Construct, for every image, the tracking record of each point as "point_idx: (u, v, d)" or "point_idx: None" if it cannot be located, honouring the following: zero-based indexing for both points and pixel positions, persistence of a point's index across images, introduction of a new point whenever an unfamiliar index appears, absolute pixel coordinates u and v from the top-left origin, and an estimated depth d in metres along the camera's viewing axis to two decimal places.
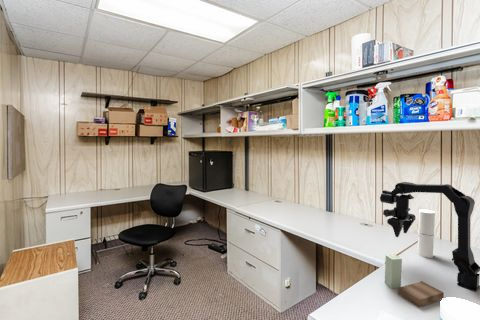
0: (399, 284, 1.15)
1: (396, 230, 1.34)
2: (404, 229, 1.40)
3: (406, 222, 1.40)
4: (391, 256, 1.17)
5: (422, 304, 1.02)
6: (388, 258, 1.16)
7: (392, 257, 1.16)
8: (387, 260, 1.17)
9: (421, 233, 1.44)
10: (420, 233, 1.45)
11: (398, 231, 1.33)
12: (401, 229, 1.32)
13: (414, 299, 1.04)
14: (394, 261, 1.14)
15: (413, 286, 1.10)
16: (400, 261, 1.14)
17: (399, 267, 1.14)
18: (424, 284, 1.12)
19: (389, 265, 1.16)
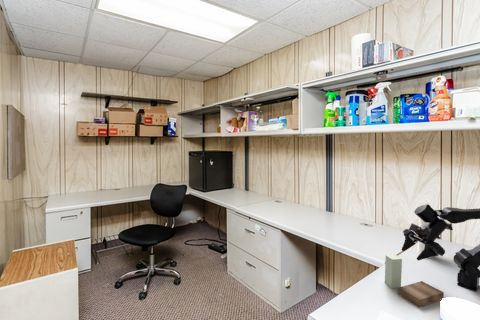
0: (399, 284, 1.15)
1: (425, 254, 1.11)
2: (405, 247, 1.21)
3: (411, 241, 1.22)
4: (391, 256, 1.17)
5: (422, 304, 1.02)
6: (388, 258, 1.16)
7: (392, 257, 1.16)
8: (387, 260, 1.17)
9: None
10: None
11: (426, 256, 1.11)
12: None
13: (414, 299, 1.04)
14: (394, 261, 1.14)
15: (413, 286, 1.10)
16: (400, 261, 1.14)
17: (399, 267, 1.14)
18: (424, 284, 1.12)
19: (389, 265, 1.16)
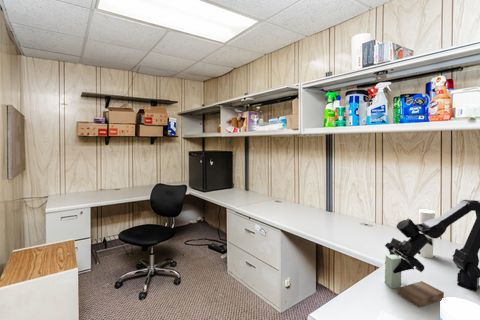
0: (399, 284, 1.15)
1: (402, 267, 1.13)
2: None
3: None
4: (391, 256, 1.17)
5: (422, 304, 1.02)
6: (388, 258, 1.16)
7: (392, 257, 1.16)
8: (387, 260, 1.17)
9: (421, 233, 1.44)
10: (420, 233, 1.45)
11: (402, 269, 1.13)
12: None
13: (414, 299, 1.04)
14: (394, 261, 1.14)
15: (413, 286, 1.10)
16: (400, 261, 1.14)
17: None
18: (424, 284, 1.12)
19: (389, 265, 1.16)
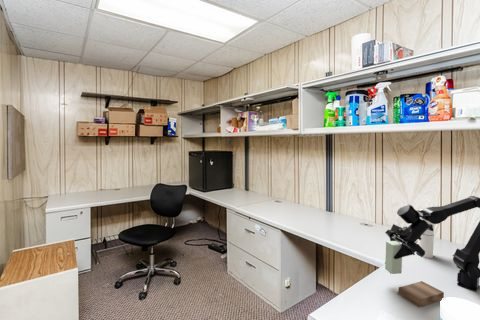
0: (400, 270, 1.15)
1: (402, 253, 1.12)
2: None
3: None
4: (392, 242, 1.16)
5: (422, 304, 1.02)
6: (388, 244, 1.16)
7: (393, 243, 1.16)
8: (387, 246, 1.16)
9: None
10: None
11: (403, 255, 1.13)
12: None
13: (414, 299, 1.04)
14: (395, 247, 1.13)
15: (413, 286, 1.10)
16: None
17: None
18: (424, 284, 1.12)
19: (390, 251, 1.15)
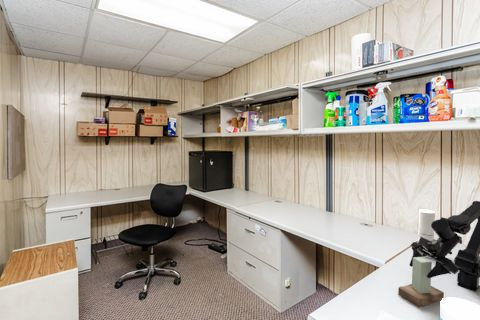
0: (428, 289, 1.06)
1: (436, 272, 1.02)
2: None
3: (419, 256, 1.12)
4: (419, 259, 1.07)
5: (422, 304, 1.02)
6: (416, 261, 1.07)
7: (421, 259, 1.07)
8: (415, 263, 1.08)
9: (421, 233, 1.44)
10: (420, 233, 1.45)
11: (437, 274, 1.02)
12: None
13: (414, 299, 1.04)
14: (423, 264, 1.05)
15: None
16: (430, 264, 1.05)
17: (428, 271, 1.05)
18: None
19: (417, 268, 1.06)
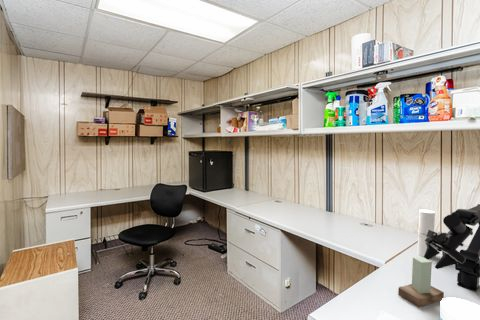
0: (428, 289, 1.06)
1: (444, 262, 1.04)
2: (426, 256, 1.14)
3: (433, 250, 1.14)
4: (419, 259, 1.07)
5: (422, 304, 1.02)
6: (416, 261, 1.07)
7: (421, 259, 1.07)
8: (415, 263, 1.08)
9: (421, 233, 1.44)
10: (420, 233, 1.45)
11: (445, 264, 1.04)
12: None
13: (414, 299, 1.04)
14: (423, 264, 1.05)
15: None
16: (430, 264, 1.05)
17: (428, 271, 1.05)
18: None
19: (417, 268, 1.06)
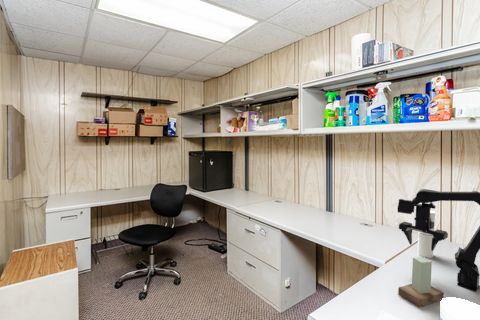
0: (428, 289, 1.06)
1: None
2: None
3: None
4: (419, 259, 1.07)
5: (422, 304, 1.02)
6: (416, 261, 1.07)
7: (421, 259, 1.07)
8: (415, 263, 1.08)
9: (421, 233, 1.44)
10: (420, 233, 1.45)
11: None
12: (407, 235, 1.28)
13: (414, 299, 1.04)
14: (423, 264, 1.05)
15: None
16: (430, 264, 1.05)
17: (428, 271, 1.05)
18: None
19: (417, 268, 1.06)
